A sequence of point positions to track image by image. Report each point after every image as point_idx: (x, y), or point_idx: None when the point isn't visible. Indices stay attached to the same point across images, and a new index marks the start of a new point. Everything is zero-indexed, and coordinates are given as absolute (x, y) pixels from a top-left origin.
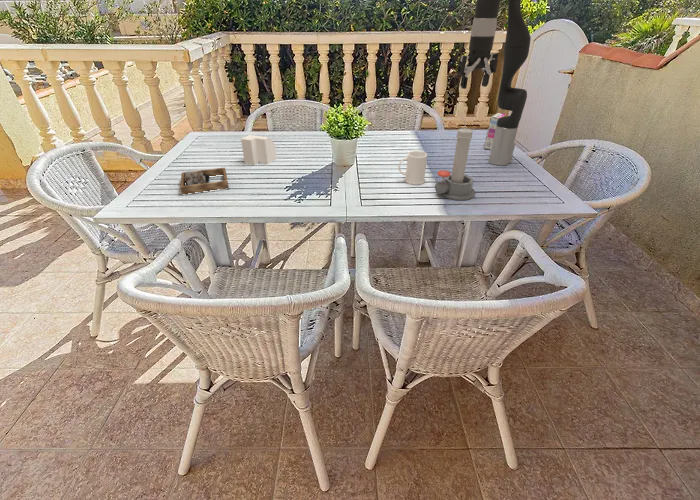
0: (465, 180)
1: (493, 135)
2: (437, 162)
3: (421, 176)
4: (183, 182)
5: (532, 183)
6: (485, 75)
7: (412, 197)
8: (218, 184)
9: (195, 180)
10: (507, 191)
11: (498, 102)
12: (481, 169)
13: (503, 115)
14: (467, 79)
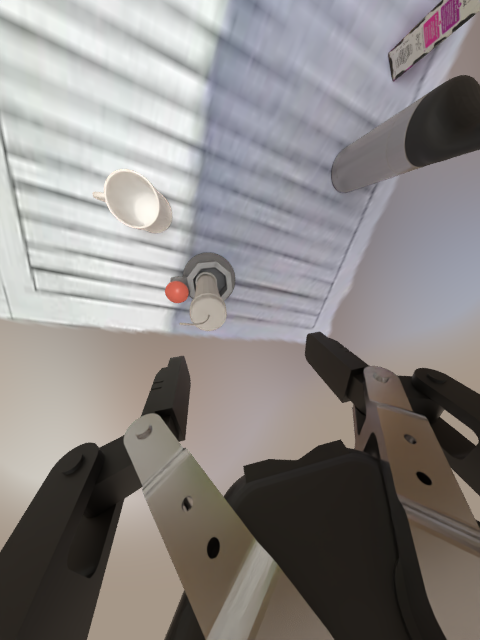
0: (225, 276)
1: (434, 38)
2: (235, 112)
3: (156, 230)
4: None
5: (325, 274)
6: (344, 385)
7: (133, 279)
8: None
9: None
10: (278, 289)
11: None
12: (297, 196)
13: None
14: (183, 427)
